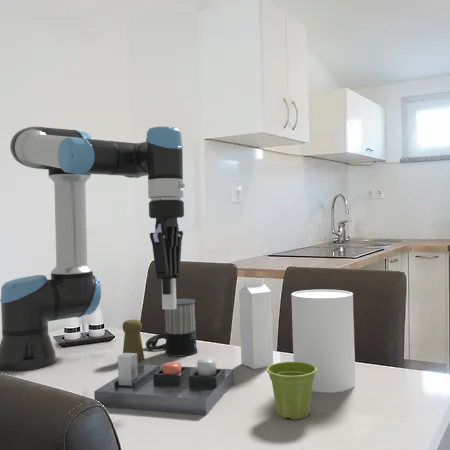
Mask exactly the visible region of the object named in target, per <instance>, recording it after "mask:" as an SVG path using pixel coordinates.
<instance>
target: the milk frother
mask: <svg viewBox="0 0 450 450" xmlns="http://www.w3.org/2000/svg"><path fill="white" fill-rule="evenodd" d="M195 302H196V300H195V299H194V298H176V305H177V308H176V309H174V310H170V309H164V318H165V319H164V321H165V323H164V324H165V333H159V334H156V335H153V336H151V337H149V338H148V339H147V340H146V342H145V347H146V348H147V349H149V350H151V351H152V350H155V351H157V350H158V351H159V350H163V349H165V352H164V354H165V355H167V356H171V357H185V356H186V357H187V356H191V355H195V354H196V353H198V347H197V340H196V339H197V326H198V324H197V323H198V322H197V321H198V320H197V318H198V317H197V316H198V314H197V312H198V311H197V306H196V304H195ZM161 339H164V340H165V343H163V344H161V345H157V344H158V341H159V340H161Z"/></svg>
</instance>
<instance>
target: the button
mask: <svg viewBox="0 0 450 450" xmlns="http://www.w3.org/2000/svg"><path fill="white" fill-rule="evenodd" d="M181 367H182V363H181V362H176V361H170V362H165V363H163V364H162V368H163V374H176V375H178V374H180V373H181Z"/></svg>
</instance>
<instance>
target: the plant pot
mask: <svg viewBox="0 0 450 450" xmlns="http://www.w3.org/2000/svg"><path fill="white" fill-rule="evenodd" d="M316 371H317V368H316V367H315V366H314V365H311V364H308V363H303V362H294V361H282V362H281V361H280V362H276V363H273V364H272V365H270V366H268V367H266V373H268V374H269V379H270V381H271V386H272V391H273V396H274V397H273V398H274V401H275V403H274V404H275V409H276V414H277V416H279V417H280V418H283V419H287V418H289V419H291V420H301V419H305V418H308V417H309V414H310V412H311V404H312V403H311V401H312V393H313V391H312V383H313V379H314V375H315V373H316Z"/></svg>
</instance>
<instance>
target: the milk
mask: <svg viewBox="0 0 450 450" xmlns="http://www.w3.org/2000/svg"><path fill="white" fill-rule="evenodd" d="M265 282H266V281H265V278H264V277H262V278H261V277H260V278H252V279H251V278H250V279H245V280H244V286H243V287H242V288H241V289H240V290H239V292H238V293H239V296H238V297H239V323H240V326H239V327H240V356H241V357H240V358H241V359H240V360H241V361H240V362H241V365H242V366H246V367H248V368H249V369H252V370H258V369H262V368H267V367H268V366H270V365H272V364H274V348H273V347H274V345H273V344H274V343H273V316H272V315H273V310H272V309H273V308H272V291H271V289H270V288H269V287H268V286H267V285H266V284H265Z"/></svg>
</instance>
